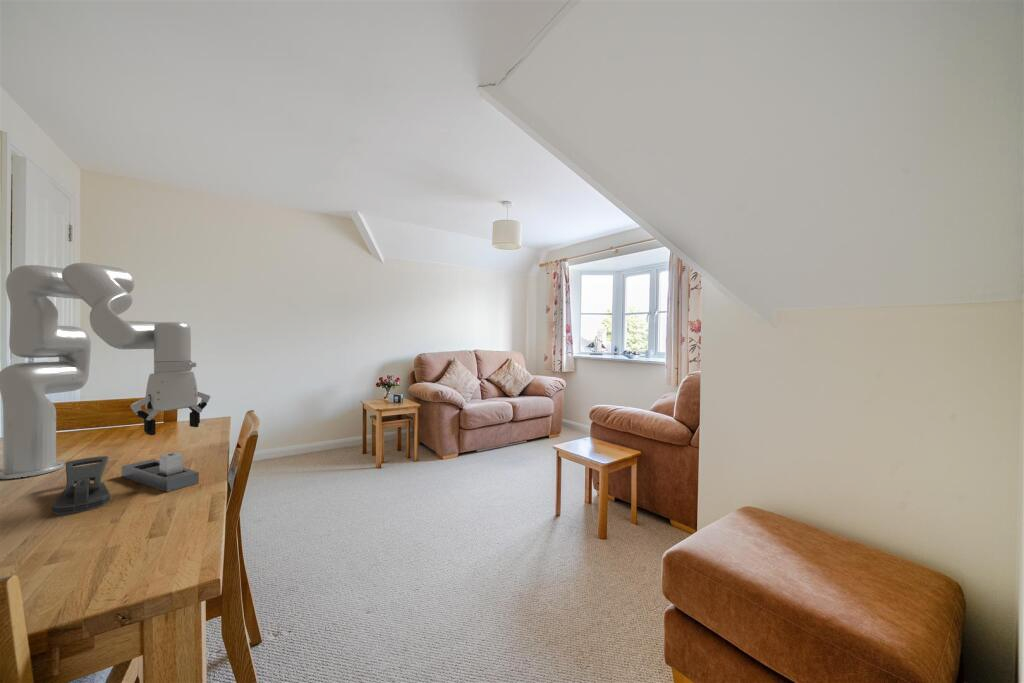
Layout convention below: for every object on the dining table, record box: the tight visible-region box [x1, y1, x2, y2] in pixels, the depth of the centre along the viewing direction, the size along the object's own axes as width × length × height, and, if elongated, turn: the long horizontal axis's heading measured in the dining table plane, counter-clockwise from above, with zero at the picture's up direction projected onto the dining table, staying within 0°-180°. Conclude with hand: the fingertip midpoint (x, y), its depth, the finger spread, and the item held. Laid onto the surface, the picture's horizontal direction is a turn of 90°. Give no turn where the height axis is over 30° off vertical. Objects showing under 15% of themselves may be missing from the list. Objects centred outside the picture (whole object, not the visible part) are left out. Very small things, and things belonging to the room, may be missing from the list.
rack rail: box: [121, 458, 200, 493], centre depth 107 cm, size 24×7×3 cm, turn 65°
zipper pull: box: [51, 455, 111, 516], centre depth 96 cm, size 9×7×25 cm
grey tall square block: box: [159, 451, 184, 477], centre depth 104 cm, size 4×4×8 cm
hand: (173, 430), depth 104 cm, fingers open, 9 cm apart
